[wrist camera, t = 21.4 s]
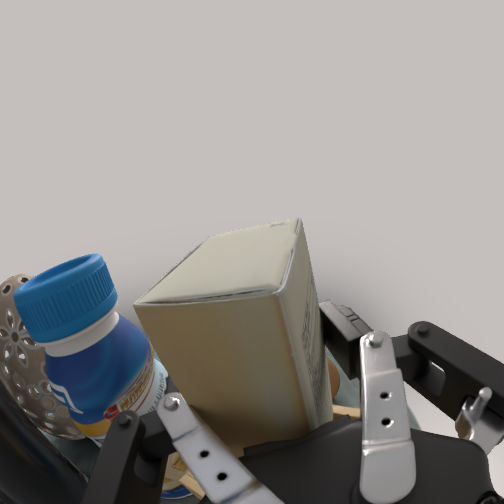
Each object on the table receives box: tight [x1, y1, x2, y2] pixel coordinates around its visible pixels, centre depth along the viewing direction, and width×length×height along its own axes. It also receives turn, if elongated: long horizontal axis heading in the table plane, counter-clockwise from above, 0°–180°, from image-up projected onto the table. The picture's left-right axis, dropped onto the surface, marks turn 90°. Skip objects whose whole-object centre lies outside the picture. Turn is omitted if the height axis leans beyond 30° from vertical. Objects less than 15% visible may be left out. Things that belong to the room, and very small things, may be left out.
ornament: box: [0, 274, 87, 440], centre depth 22 cm, size 15×15×20 cm
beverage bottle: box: [13, 254, 192, 499], centre depth 16 cm, size 8×8×20 cm
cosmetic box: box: [133, 218, 333, 458], centre depth 11 cm, size 6×4×12 cm
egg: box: [327, 358, 340, 399], centre depth 23 cm, size 4×4×6 cm
